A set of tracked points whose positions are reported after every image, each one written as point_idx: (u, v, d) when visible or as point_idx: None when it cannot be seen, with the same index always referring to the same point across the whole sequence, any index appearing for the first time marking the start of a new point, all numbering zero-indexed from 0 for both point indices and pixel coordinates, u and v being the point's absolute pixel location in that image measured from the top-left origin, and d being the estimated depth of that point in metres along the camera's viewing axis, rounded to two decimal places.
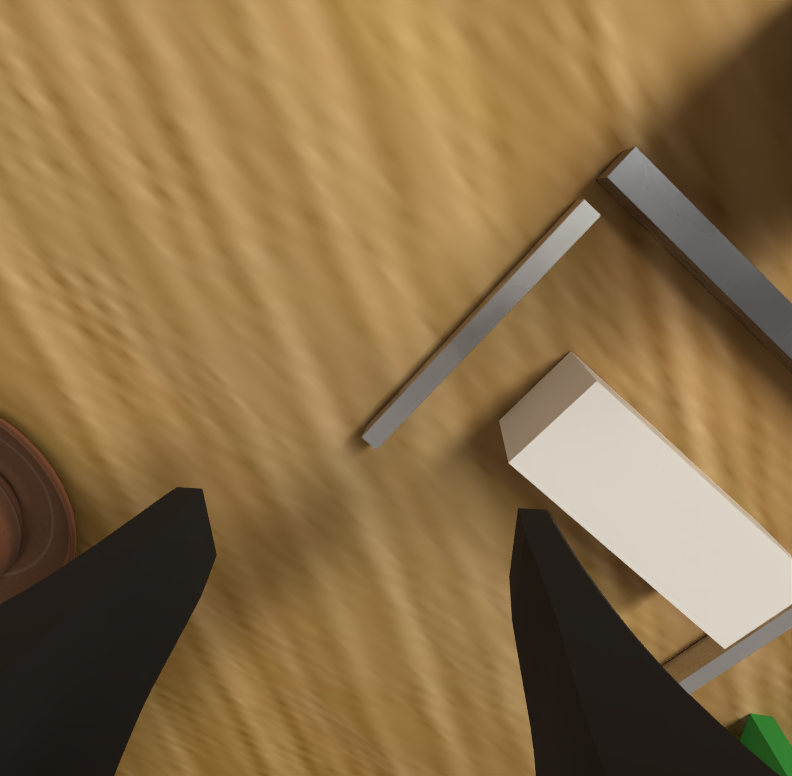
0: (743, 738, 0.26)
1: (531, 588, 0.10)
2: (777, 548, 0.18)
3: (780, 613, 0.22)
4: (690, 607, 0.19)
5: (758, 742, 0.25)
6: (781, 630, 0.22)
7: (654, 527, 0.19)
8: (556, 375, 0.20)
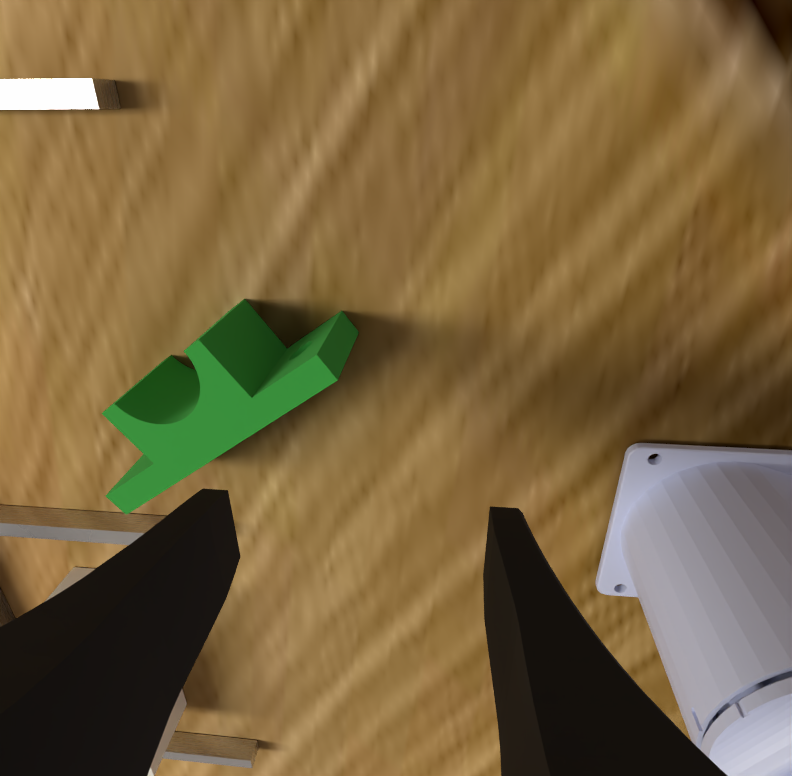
0: None
1: (498, 585, 0.10)
2: None
3: (80, 540, 0.25)
4: None
5: None
6: (85, 531, 0.25)
7: None
8: None
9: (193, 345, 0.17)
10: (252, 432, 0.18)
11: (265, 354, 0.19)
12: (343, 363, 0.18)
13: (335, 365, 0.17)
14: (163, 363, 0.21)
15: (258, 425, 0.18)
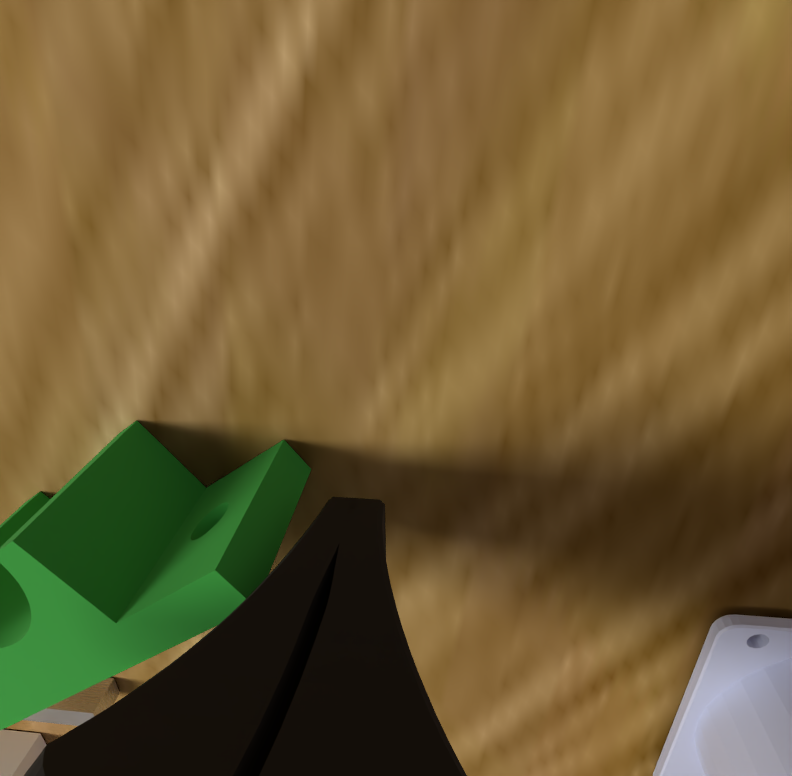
0: None
1: None
2: None
3: None
4: None
5: None
6: None
7: None
8: None
9: (5, 548, 0.10)
10: (125, 667, 0.11)
11: (160, 517, 0.12)
12: (273, 559, 0.11)
13: (254, 572, 0.10)
14: (19, 513, 0.14)
15: (133, 658, 0.11)
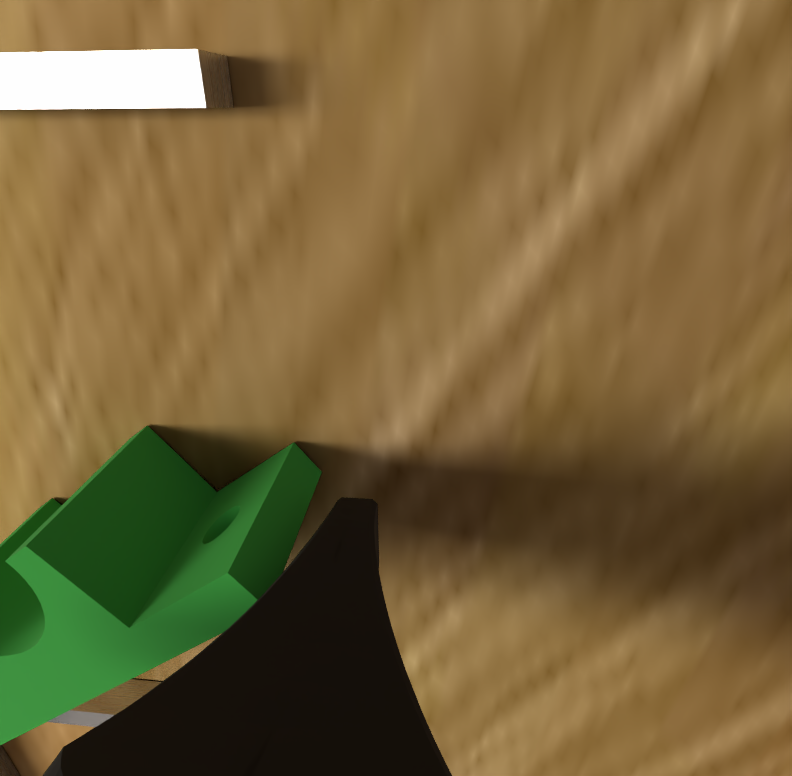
0: None
1: None
2: None
3: None
4: None
5: None
6: None
7: None
8: None
9: (19, 553, 0.10)
10: (138, 672, 0.11)
11: (171, 522, 0.12)
12: (285, 561, 0.11)
13: (267, 576, 0.10)
14: (31, 520, 0.14)
15: (146, 663, 0.11)
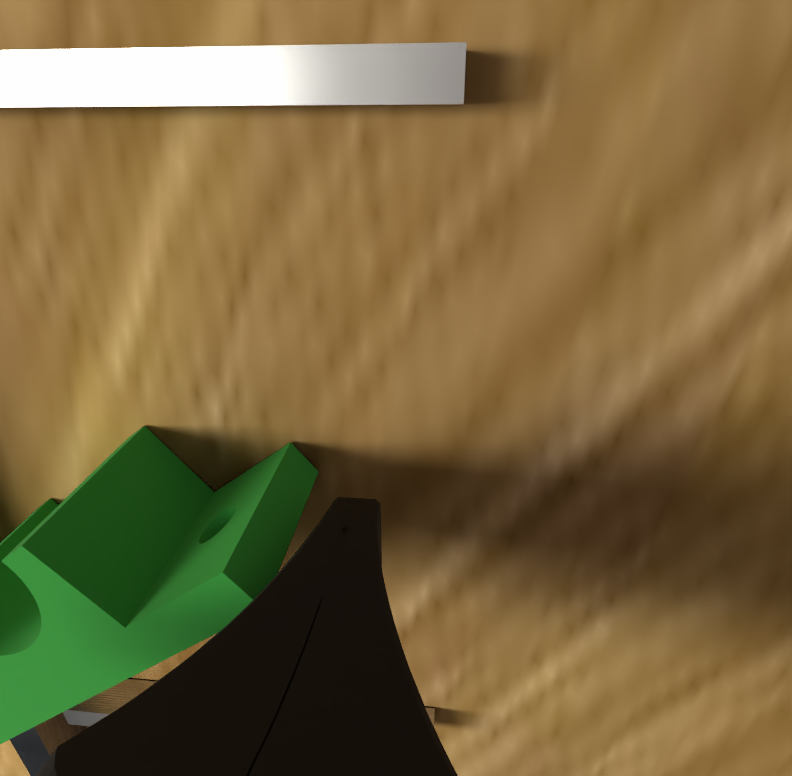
0: None
1: None
2: None
3: None
4: None
5: None
6: None
7: None
8: None
9: (15, 553, 0.10)
10: (135, 672, 0.11)
11: (168, 522, 0.12)
12: (280, 560, 0.11)
13: (262, 575, 0.10)
14: (29, 520, 0.14)
15: (142, 663, 0.11)
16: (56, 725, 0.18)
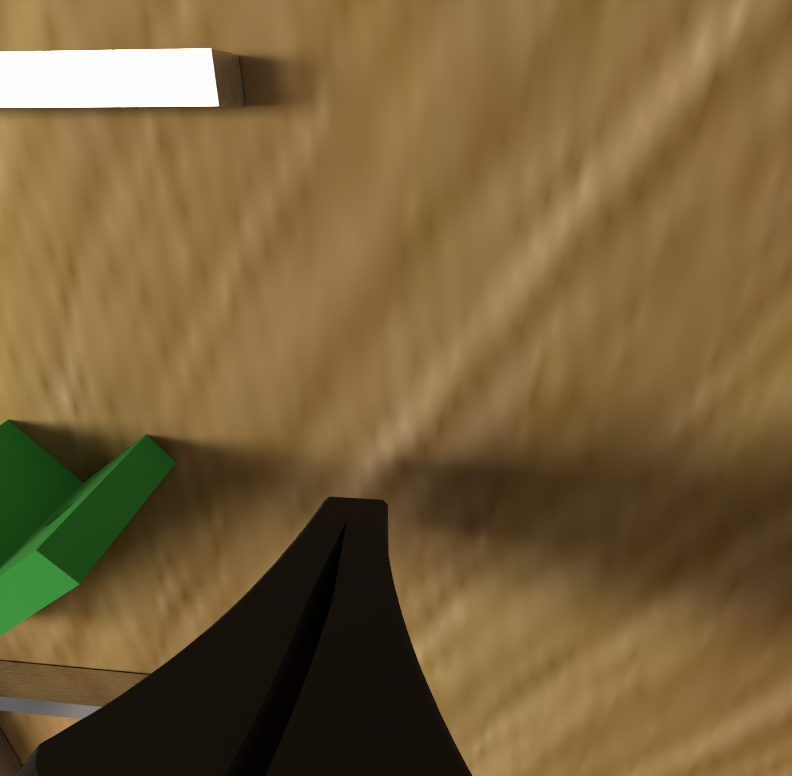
0: None
1: None
2: None
3: None
4: None
5: None
6: None
7: None
8: None
9: None
10: None
11: (26, 507, 0.13)
12: (111, 541, 0.11)
13: (84, 553, 0.11)
14: None
15: None
16: None
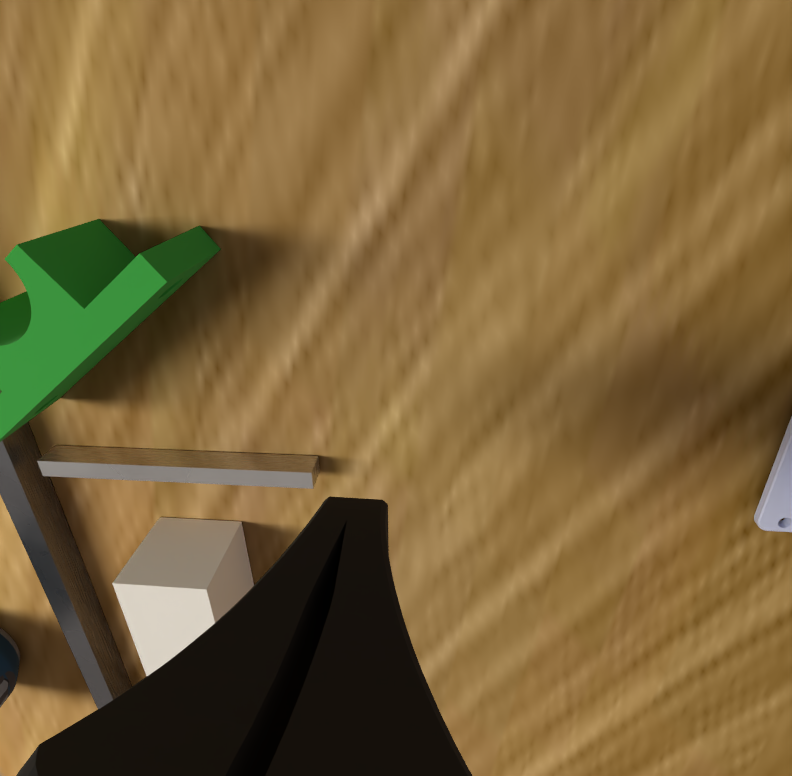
0: (75, 383, 0.22)
1: None
2: (127, 619, 0.23)
3: (176, 481, 0.23)
4: (208, 627, 0.23)
5: (50, 403, 0.22)
6: (183, 470, 0.22)
7: None
8: None
9: (13, 251, 0.16)
10: (93, 348, 0.17)
11: (116, 273, 0.18)
12: (183, 270, 0.17)
13: (168, 268, 0.16)
14: (23, 294, 0.20)
15: (97, 339, 0.17)
16: (34, 484, 0.24)
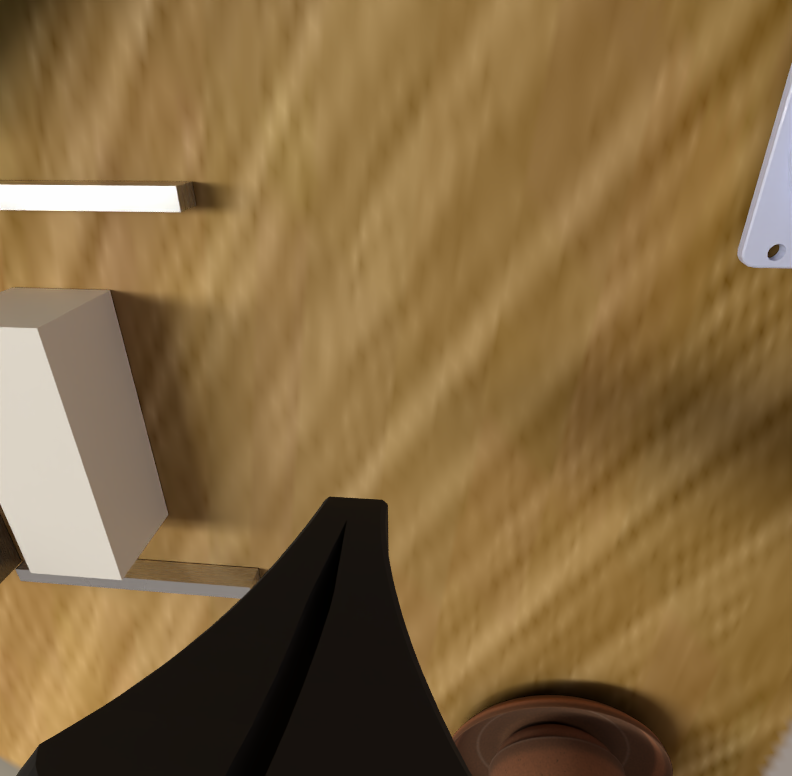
0: None
1: None
2: None
3: (13, 209, 0.18)
4: (48, 391, 0.18)
5: None
6: (18, 189, 0.18)
7: (43, 472, 0.20)
8: None
9: None
10: None
11: None
12: None
13: None
14: None
15: None
16: None
